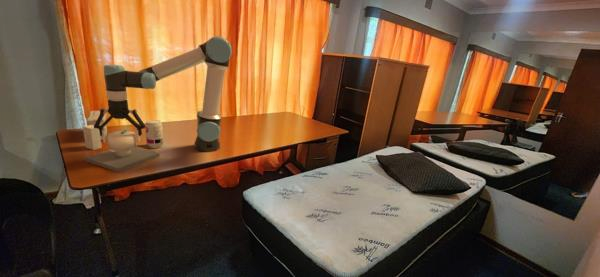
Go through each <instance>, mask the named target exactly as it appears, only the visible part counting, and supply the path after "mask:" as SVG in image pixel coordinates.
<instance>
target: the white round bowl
mask: <svg viewBox="0 0 600 277" xmlns="http://www.w3.org/2000/svg"><path fill="white" fill-rule="evenodd" d="M107 144H108V148H109V150H110V149H113V150H125V149H130V148H133V147H135V146H137V136H136V132H134V131H132V130H131V131H130V130H128V129H123V130H119V131H118V130H116V131H113V132H109V133H107Z"/></svg>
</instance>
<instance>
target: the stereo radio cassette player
mask: <svg viewBox="0 0 600 277" xmlns="http://www.w3.org/2000/svg"><path fill="white" fill-rule="evenodd" d="M99 108H100V109H99V110H90V111H89V113H88V116H87V119H86V126H87V125H95V123H96V121H97V119H98V117H99V115H100V110H101V109H102V107H99ZM107 113H108V112H107ZM107 113H106V114H104V116H103V118H102V120H101V122H100V124H99V125H100V126H101V125H102V124H103V123H104V122H105V121H106V120H107ZM107 124H108V123H107ZM107 124H106V125H105V126H104V127H103V128H106V135H108V126H107ZM100 138H101V141H103V136H100Z"/></svg>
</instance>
